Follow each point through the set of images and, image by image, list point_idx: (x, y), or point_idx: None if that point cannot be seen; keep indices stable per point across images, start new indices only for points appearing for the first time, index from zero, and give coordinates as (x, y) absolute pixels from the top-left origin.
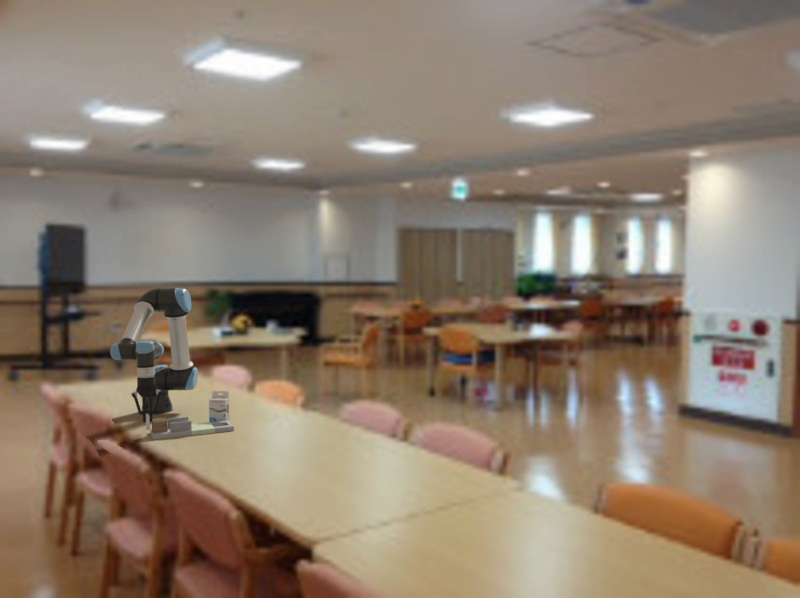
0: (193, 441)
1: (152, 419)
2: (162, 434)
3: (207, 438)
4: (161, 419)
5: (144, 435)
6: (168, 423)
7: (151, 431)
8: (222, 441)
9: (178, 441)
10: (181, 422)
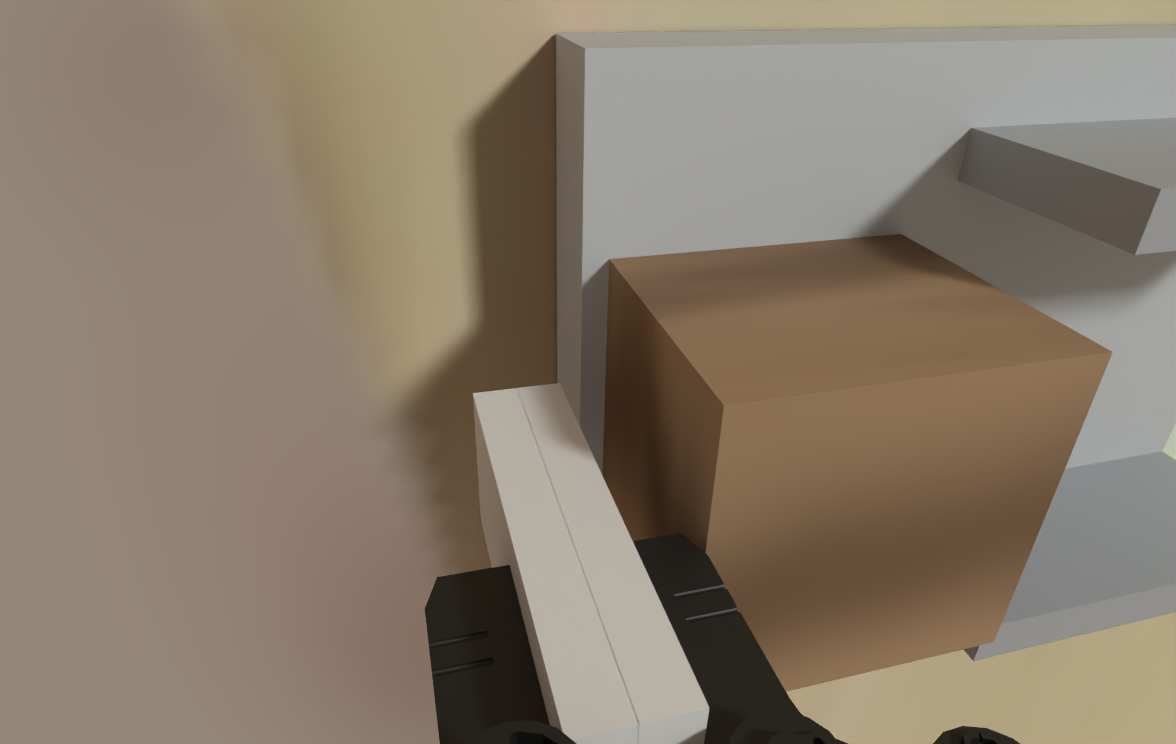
0: (951, 713)
1: (734, 463)
2: None
3: (1107, 637)
4: (936, 527)
5: (414, 234)
6: (1047, 209)
7: (581, 383)
8: (1131, 739)
9: (828, 696)
10: (1149, 615)
